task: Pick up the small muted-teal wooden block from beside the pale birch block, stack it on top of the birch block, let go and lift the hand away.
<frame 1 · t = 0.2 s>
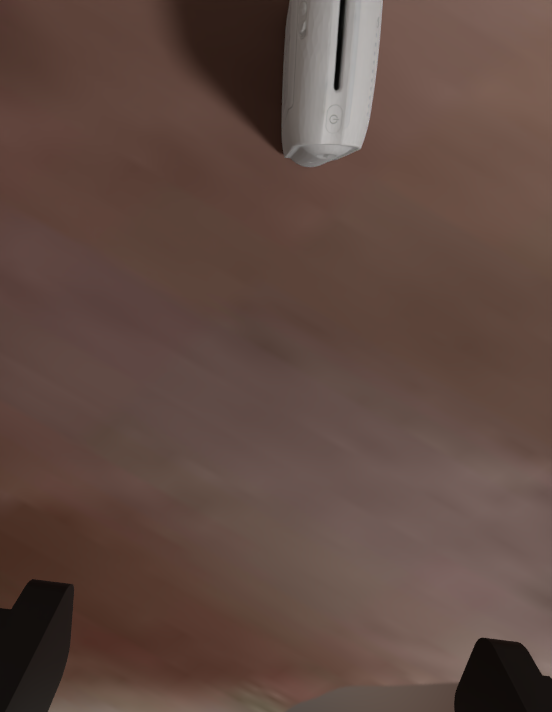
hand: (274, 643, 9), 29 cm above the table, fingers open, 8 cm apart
photo printer: (312, 88, 33), on the table
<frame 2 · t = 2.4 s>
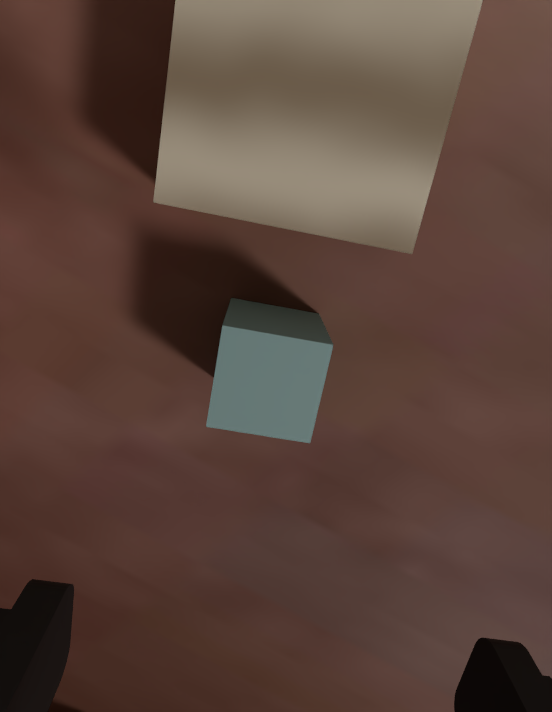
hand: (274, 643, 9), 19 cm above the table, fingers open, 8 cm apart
birch block: (302, 109, 24), on the table
teal block: (267, 347, 28), on the table
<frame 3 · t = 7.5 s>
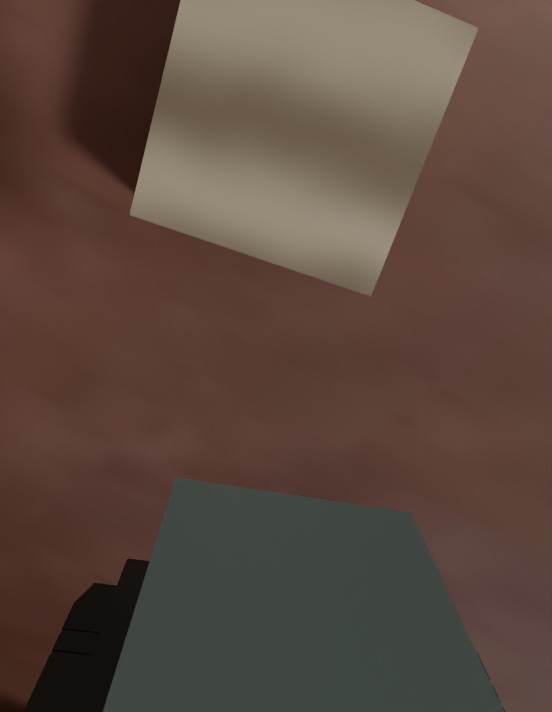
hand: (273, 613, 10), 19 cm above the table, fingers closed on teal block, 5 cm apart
birch block: (287, 142, 25), on the table
teal block: (273, 589, 11), point 18 cm above the table, touching gripper
when the fingers open (8 cm above the table, at t = 10.8 s): teal block drops 1 cm, resting on birch block.
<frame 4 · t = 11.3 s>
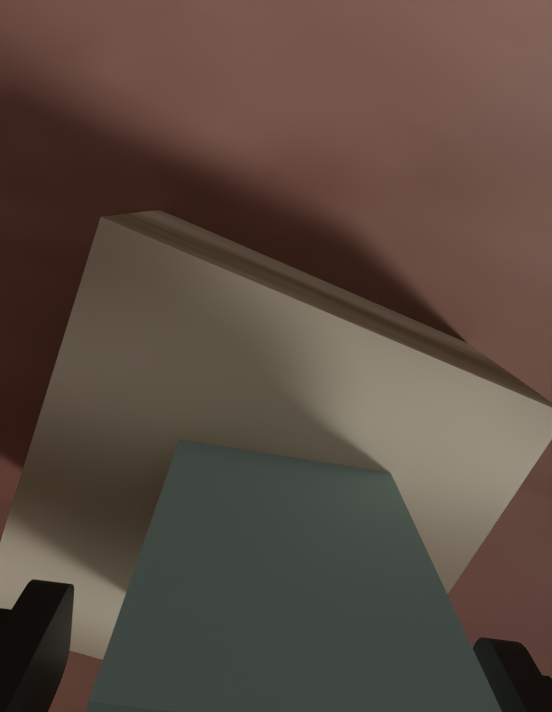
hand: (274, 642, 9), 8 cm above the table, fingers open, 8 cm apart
birch block: (256, 418, 17), on the table, touching teal block
teal block: (267, 544, 12), point 6 cm above the table, touching birch block
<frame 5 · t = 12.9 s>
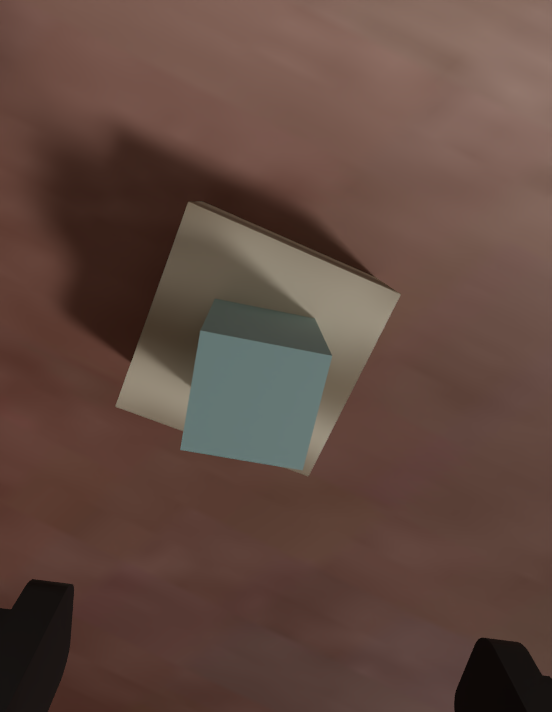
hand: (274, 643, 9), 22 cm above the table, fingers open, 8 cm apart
birch block: (255, 323, 30), on the table, touching teal block
teal block: (255, 356, 24), point 6 cm above the table, touching birch block
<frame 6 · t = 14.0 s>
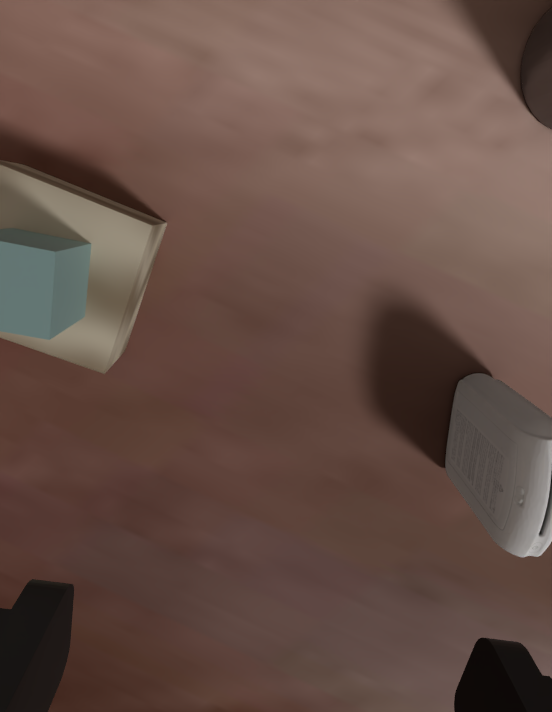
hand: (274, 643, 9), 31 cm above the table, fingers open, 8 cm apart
photo printer: (468, 424, 43), on the table
birch block: (78, 262, 38), on the table
teal block: (49, 273, 32), point 6 cm above the table
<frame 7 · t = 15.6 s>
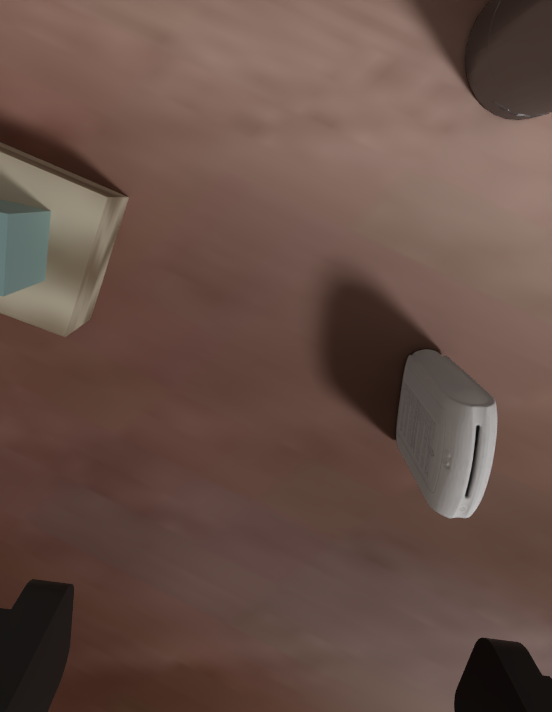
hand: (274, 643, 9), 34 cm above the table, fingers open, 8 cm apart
photo printer: (418, 399, 45), on the table
birch block: (45, 233, 40), on the table, touching teal block
teal block: (12, 238, 34), point 6 cm above the table, touching birch block
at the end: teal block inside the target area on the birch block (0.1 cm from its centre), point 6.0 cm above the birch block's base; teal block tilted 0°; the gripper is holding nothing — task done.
